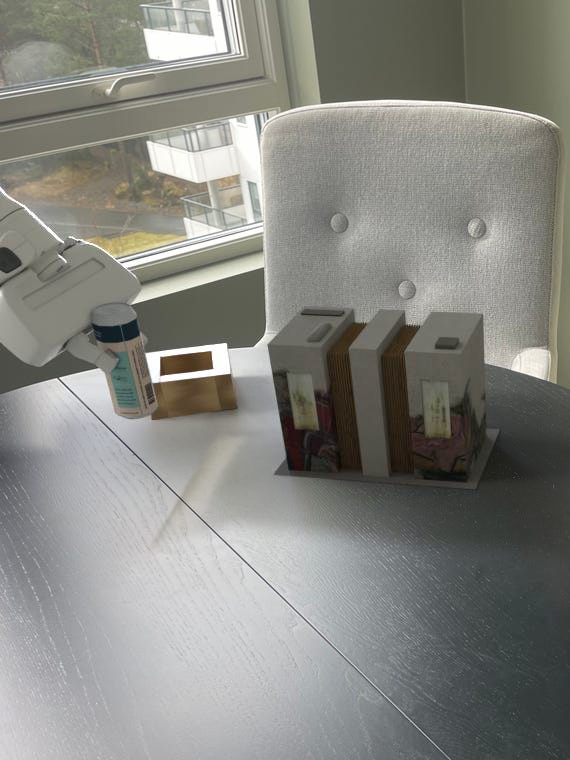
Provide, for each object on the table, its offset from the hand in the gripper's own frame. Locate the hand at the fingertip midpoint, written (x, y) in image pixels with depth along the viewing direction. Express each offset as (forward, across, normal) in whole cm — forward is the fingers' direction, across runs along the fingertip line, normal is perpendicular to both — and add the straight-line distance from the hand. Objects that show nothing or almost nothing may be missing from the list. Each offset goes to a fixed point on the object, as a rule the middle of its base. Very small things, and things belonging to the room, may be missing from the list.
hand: (128, 357), depth 107 cm
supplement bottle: (+4, 0, -5) cm, 7 cm away
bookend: (+29, -12, +7) cm, 32 cm away
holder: (+6, -23, -16) cm, 29 cm away
